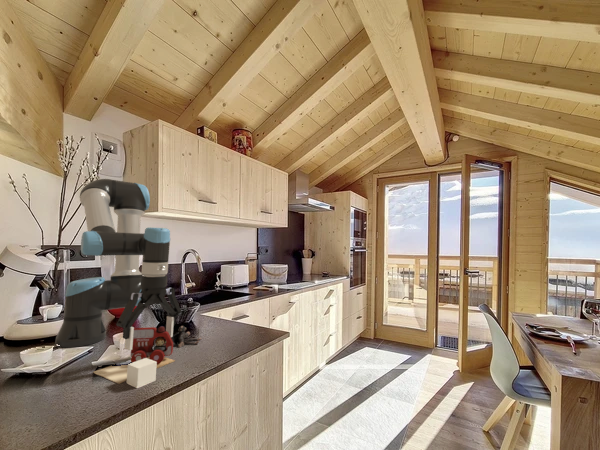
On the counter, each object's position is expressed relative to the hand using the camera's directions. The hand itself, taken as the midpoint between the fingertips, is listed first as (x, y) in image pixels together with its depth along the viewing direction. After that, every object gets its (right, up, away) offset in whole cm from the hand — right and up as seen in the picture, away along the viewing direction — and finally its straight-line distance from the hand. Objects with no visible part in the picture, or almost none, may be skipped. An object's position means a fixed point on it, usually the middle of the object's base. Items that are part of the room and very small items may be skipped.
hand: (150, 342), depth 88 cm
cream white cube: (+5, -5, -14) cm, 15 cm away
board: (-2, -5, -5) cm, 7 cm away
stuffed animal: (+2, -8, +18) cm, 19 cm away
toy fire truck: (+1, -6, -1) cm, 6 cm away
